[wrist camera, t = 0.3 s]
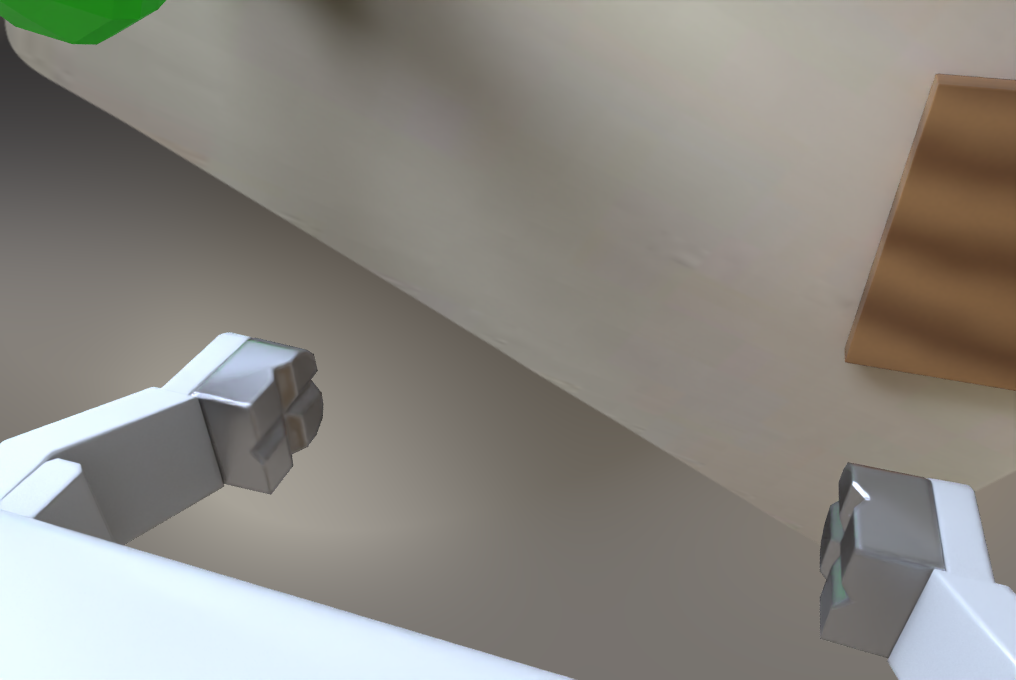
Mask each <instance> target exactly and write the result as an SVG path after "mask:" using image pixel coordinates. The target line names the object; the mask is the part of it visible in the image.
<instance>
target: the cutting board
mask: <svg viewBox="0 0 1016 680" xmlns="http://www.w3.org/2000/svg"><path fill="white" fill-rule="evenodd" d="M845 362H847V363H853V364H859V365H865V366H871V367H877V368H883V369H889V370H894V371H900V372H906V373H912V374H918V375H924V376H930V377H936V378H942V379H948V380H954V381H960V382H966V383H972V384H978V385H984V386H990V387H996V388H1002V389H1008V390H1014V391H1016V80H1007V79H994V78H982V77H969V76H957V75H944V74H936V75H935V78H934V81H933V84H932V87H931V90H930V93H929V96H928V99H927V102H926V105H925V108H924V111H923V114H922V117H921V120H920V123H919V126H918V129H917V132H916V135H915V138H914V141H913V144H912V147H911V150H910V153H909V156H908V159H907V162H906V165H905V168H904V171H903V174H902V177H901V180H900V183H899V186H898V189H897V192H896V195H895V198H894V201H893V204H892V208H891V211H890V214H889V217H888V220H887V223H886V226H885V229H884V232H883V235H882V238H881V241H880V244H879V247H878V250H877V253H876V256H875V259H874V262H873V265H872V268H871V271H870V274H869V277H868V280H867V283H866V286H865V289H864V292H863V295H862V298H861V301H860V304H859V307H858V310H857V313H856V316H855V319H854V322H853V325H852V328H851V331H850V334H849V337H848V340H847V343H846V346H845Z"/></svg>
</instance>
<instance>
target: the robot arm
mask: <svg viewBox="0 0 1016 680" xmlns="http://www.w3.org/2000/svg"><path fill="white" fill-rule="evenodd" d="M317 371H318V370H317V366H316V361H315V357H314V354H312V353H311V352H310V351H308V350H306V349H302V348H297V347H293V346H288V345H284V344H280V343H276V342H272V341H267V340H263V339H259V338H251V337H248V336H243V335H239V334H235V333H231V332H228V333H224V334H220V335H219V336H218V337H217V338H216V339H214V340H213V341H212V342H211V343H210V344H209V345H208V346H207V347H206V348H205V349H204V350H202V351H201V352H200V353H199V354H198V355H197V356H196V357H195V358H194V359H193V360H192V361H191V362H190V363H188V364H187V365H186V366H185V367H184V368H183V369H182V370H181V371H180V372H179V373H178V374H177V375H175V376H174V377H173V378H172V379H171V380H170V381H169V382H168V383H167V384H166V385H165V386H164V387H162V388H156V387H151V388H148V389H146V390H143V391H140V392H138V393H135V394H132V395H129V396H126V397H124V398H121V399H118V400H115V401H113V402H110V403H107V404H104V405H102V406H99V407H96V408H93V409H90V410H88V411H85V412H82V413H79V414H77V415H74V416H71V417H68V418H66V419H63V420H60V421H58V422H54V423H52V424H49V425H46V426H43V427H41V428H38V429H35V430H33V431H30V432H27V433H24V434H21V435H19V436H16V437H13V438H10V439H8V440H5V441H3V442H2V443H1V444H0V680H576V679H572V678H569V677H566V676H562V675H559V674H555V673H552V672H549V671H545V670H541V669H538V668H535V667H532V666H528V665H525V664H521V663H518V662H515V661H511V660H508V659H505V658H501V657H498V656H495V655H491V654H487V653H484V652H481V651H478V650H474V649H471V648H467V647H464V646H461V645H457V644H454V643H451V642H447V641H444V640H441V639H437V638H434V637H431V636H427V635H424V634H420V633H417V632H414V631H410V630H407V629H404V628H400V627H397V626H393V625H390V624H387V623H383V622H380V621H376V620H373V619H369V618H366V617H363V616H360V615H356V614H353V613H350V612H346V611H343V610H340V609H336V608H333V607H329V606H326V605H322V604H319V603H316V602H313V601H309V600H306V599H302V598H299V597H296V596H292V595H289V594H285V593H282V592H279V591H275V590H272V589H269V588H265V587H262V586H259V585H255V584H251V583H248V582H245V581H242V580H238V579H235V578H232V577H228V576H225V575H221V574H218V573H214V572H211V571H208V570H204V569H201V568H198V567H194V566H191V565H188V564H184V563H181V562H178V561H174V560H171V559H167V558H164V557H161V556H157V555H154V554H151V553H147V552H143V551H140V550H137V549H134V548H130V547H127V546H124V545H125V544H127V543H128V542H130V541H132V540H134V539H135V538H137V537H139V536H140V535H142V534H144V533H145V532H147V531H149V530H150V529H152V528H154V527H156V526H157V525H159V524H161V523H163V522H164V521H166V520H167V519H169V518H171V517H172V516H174V515H176V514H178V513H180V512H181V511H183V510H184V509H186V508H188V507H190V506H191V505H193V504H195V503H197V502H198V501H200V500H202V499H203V498H205V497H207V496H209V495H210V494H212V493H214V492H215V491H217V490H219V489H221V488H222V487H224V484H227V485H232V486H236V487H241V488H245V489H249V490H253V491H258V492H263V493H267V494H272V493H273V491H274V490H275V489H276V488H277V486H278V485H279V483H280V482H281V481H282V480H283V478H284V477H285V476H286V475H287V473H288V472H289V471H290V469H291V468H292V467H293V460H292V454H294V453H296V452H298V451H300V450H302V449H304V448H306V447H308V445H309V444H310V443H311V441H312V440H313V439H314V437H315V436H316V435H317V432H318V429H319V426H320V423H321V421H322V416H323V399H322V393H321V392H320V390H319V389H318V387H317V386H316V385H315V384H314V383H313V381H312V380H311V379H312V378H313V376H314V375H315V374H316V372H317ZM820 572H821V573H822V575H823V576H824V577H825V579H826V582H825V585H824V587H823V590H822V593H821V596H820V639H823V640H827V641H830V642H833V643H837V644H840V645H844V646H847V647H851V648H854V649H858V650H861V651H865V652H868V653H872V654H875V655H879V656H882V657H886V658H889V659H888V663H889V665H890V666H891V668H892V670H893V671H894V673H895V675H896V676H897V678H898V679H899V680H1016V594H1015V593H1014V592H1013V591H1012V590H1011V589H1010V588H1009V587H1008V586H1005V585H1000V584H996V583H995V580H994V575H993V571H992V566H991V562H990V557H989V553H988V549H987V544H986V540H985V536H984V531H983V527H982V523H981V518H980V514H979V509H978V505H977V501H976V496H975V492H974V490H973V489H972V488H971V487H970V486H969V485H965V484H960V483H954V482H949V481H944V480H939V479H933V478H927V479H926V478H924V477H920V476H915V475H910V474H905V473H900V472H895V471H890V470H885V469H880V468H875V467H870V466H865V465H860V464H855V463H850V462H848V463H847V465H846V466H845V468H844V469H843V472H842V475H841V478H840V480H839V501H837V502H836V503H834V504H832V505H830V508H829V512H828V515H827V518H826V521H825V525H824V530H823V535H822V539H821V549H820Z"/></svg>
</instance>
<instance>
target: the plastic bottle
mask: <svg viewBox="0 0 1016 680" xmlns="http://www.w3.org/2000/svg"><path fill="white" fill-rule="evenodd" d="M165 1H166V0H0V16H1V17H3V18H4V19H6V20H7V21H8V22H10V23H11V24H13V25H14V26H16V27H19V28H22V29H25V30H29V31H32V32H35V33H38V34H42V35H45V36H48V37H51V38H55V39H58V40H61V41H64V42H68V43H71V44H99V43H100V42H102V41H104V40H106V39H108V38H110V37H112V36H114V35H115V34H117V33H119V32H120V31H122V30H124V29H126V28H127V27H129V26H131V25H132V24H134V23H136V22H137V21H139V20H141V19H142V18H144V17H146V16H147V15H149V14H151V13H152V12H154V11H156V10H158V9H159V8H160V6H161V5H162V4H163V3H164V2H165Z"/></svg>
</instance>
